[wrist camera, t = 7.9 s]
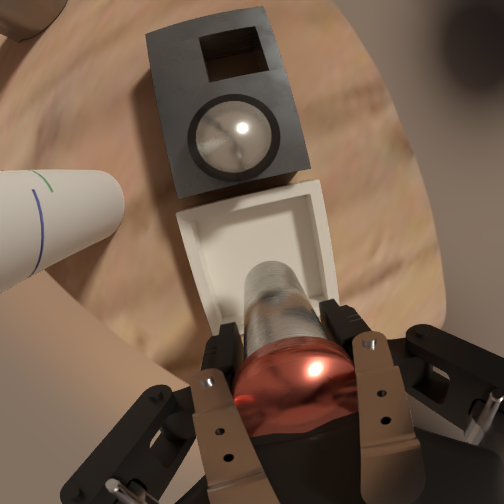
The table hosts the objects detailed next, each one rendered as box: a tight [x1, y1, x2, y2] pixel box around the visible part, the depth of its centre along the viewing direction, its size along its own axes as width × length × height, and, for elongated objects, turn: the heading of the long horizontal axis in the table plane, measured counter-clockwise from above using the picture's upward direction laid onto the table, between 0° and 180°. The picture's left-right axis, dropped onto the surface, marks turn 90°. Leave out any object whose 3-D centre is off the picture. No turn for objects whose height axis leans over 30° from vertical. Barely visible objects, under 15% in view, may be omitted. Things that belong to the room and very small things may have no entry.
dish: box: [176, 179, 340, 336], centre depth 25 cm, size 12×12×3 cm
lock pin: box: [232, 261, 356, 437], centre depth 13 cm, size 4×4×11 cm
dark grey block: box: [145, 6, 311, 200], centre depth 19 cm, size 10×15×8 cm, turn 13°
